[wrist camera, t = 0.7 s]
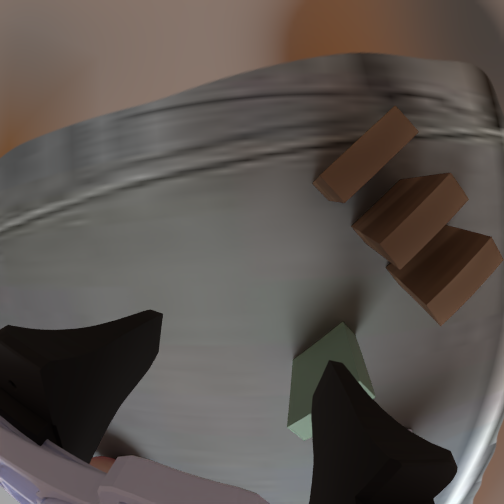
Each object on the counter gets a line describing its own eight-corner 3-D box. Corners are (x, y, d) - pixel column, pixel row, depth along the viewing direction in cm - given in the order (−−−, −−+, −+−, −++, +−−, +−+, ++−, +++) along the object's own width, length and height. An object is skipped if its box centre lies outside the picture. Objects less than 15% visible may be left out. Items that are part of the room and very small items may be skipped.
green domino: (355, 335, 22) (375, 397, 14) (305, 372, 23) (304, 441, 15) (342, 321, 22) (359, 380, 14) (292, 359, 23) (286, 427, 15)
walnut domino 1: (378, 153, 19) (418, 131, 11) (328, 200, 20) (344, 203, 13) (362, 136, 19) (395, 105, 11) (312, 183, 20) (319, 175, 13)
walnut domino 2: (413, 196, 19) (468, 199, 12) (365, 243, 20) (400, 269, 13) (400, 179, 19) (450, 172, 12) (351, 226, 20) (379, 244, 13)
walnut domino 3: (443, 238, 19) (503, 259, 12) (397, 283, 21) (440, 326, 13) (432, 222, 19) (491, 236, 12) (385, 267, 21) (426, 305, 13)
